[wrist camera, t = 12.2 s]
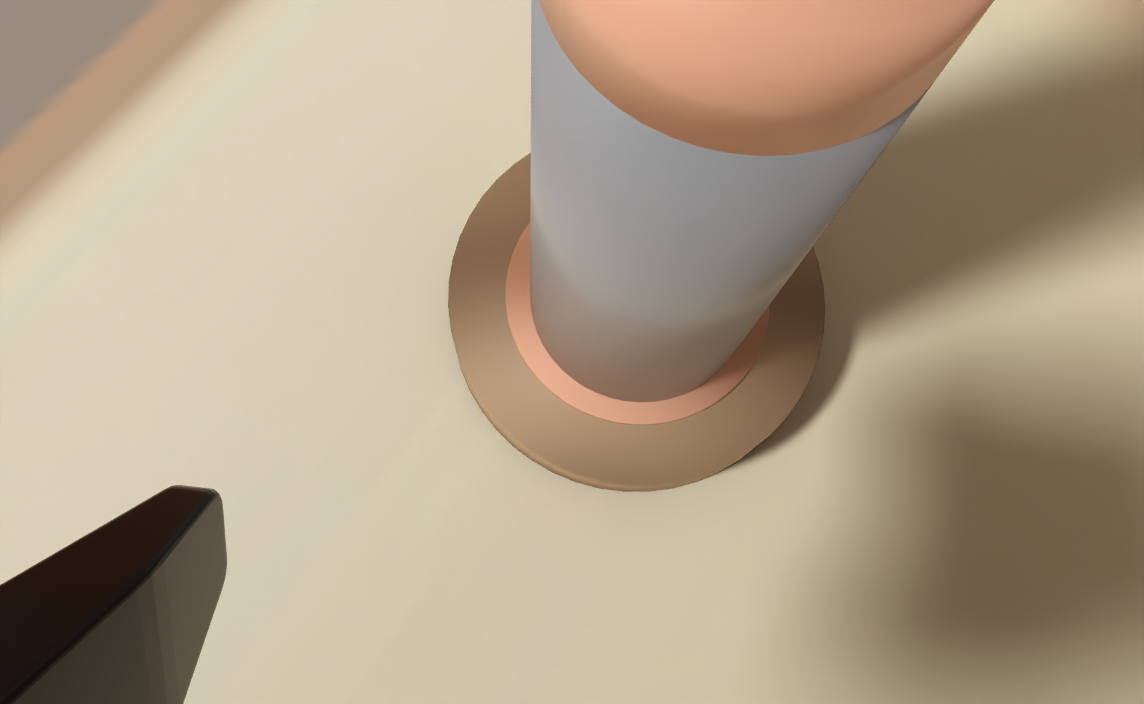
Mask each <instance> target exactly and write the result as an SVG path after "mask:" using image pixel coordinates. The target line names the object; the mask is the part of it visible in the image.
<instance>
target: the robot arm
mask: <svg viewBox="0 0 1144 704" xmlns="http://www.w3.org/2000/svg"><path fill="white" fill-rule="evenodd" d="M226 569H227V553H226V540H225V528H224V515H223V504H222V500H221V497H220V494H219V493H218V492H217V491H215V490H214V489H210V488H201V487H192V486H183V485H175V486H171V487H169V488H167V489H165V490H163V491H161V492H159V493H158V494H156V495H154V496H153V497H151V498H149V499H147V500H146V501H144V502H142V503H141V504H139V505H137V506H135V507H134V508H132V509H130V510H128V511H127V512H125V513H123V514H122V515H120V516H118V517H116V518H115V519H113V520H111V521H110V522H108V523H106V524H104V525H103V526H101V527H99V528H98V529H96V530H94V531H92V532H91V533H89V534H87V535H85V536H84V537H82V538H80V539H79V540H77V541H75V542H73V543H72V544H70V545H68V546H67V547H65V548H63V549H61V550H60V551H58V552H56V553H55V554H53V555H51V556H49V557H48V558H46V559H44V560H43V561H41V562H39V563H37V564H36V565H34V566H32V567H30V568H29V569H27V570H25V571H24V572H22V573H20V574H18V575H17V576H15V577H13V578H12V579H10V580H8V581H6V582H5V583H3V584H1V585H0V704H183V702H184V700H185V697H186V694H187V691H188V688H189V685H190V682H191V679H192V676H193V673H194V670H195V667H196V664H197V661H198V658H199V655H200V652H201V650H202V647H203V644H204V641H205V638H206V635H207V632H208V629H209V626H210V623H211V620H212V617H213V614H214V611H215V608H216V605H217V602H218V600H219V597H220V594H221V591H222V588H223V584H224V580H225V576H226Z"/></svg>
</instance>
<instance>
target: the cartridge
mask: <svg viewBox="0 0 1144 704" xmlns="http://www.w3.org/2000/svg"><path fill="white" fill-rule="evenodd" d="M993 1H994V0H532V21H531V193H530V305H531V312H532V317H533V322H534V325H535V328H536V331H537V334H538V336H539V338H540V340H541V342H542V344H543V346H544V348H545V349H546V351H547V352H548V354H549V355H550V357H551V358H552V359H553V360H554V362H555V363H556V364H557V365H558V366H559V367H560V368H561V369H562V370H563V371H564V372H565V373H566V374H567V375H569V376H570V377H571V378H572V379H573V380H575V381H576V382H578V383H579V384H581V385H582V386H584V387H586V388H588V389H590V390H592V391H594V392H596V393H598V394H601V395H604V396H606V397H609V398H613V399H618V400H622V401H629V402H656V401H662V400H667V399H671V398H674V397H678V396H681V395H684V394H686V393H688V392H690V391H692V390H694V389H696V388H698V387H699V386H701V385H702V384H704V383H705V382H707V381H708V380H709V379H711V378H712V377H713V376H714V375H715V374H716V373H718V372H719V371H720V369H721V368H722V367H723V366H724V365H725V364H726V363H727V361H728V360H729V359H730V357H731V356H732V355H733V353H734V352H735V351H736V349H737V348H738V347H739V345H740V344H741V342H742V341H743V340H744V338H745V337H746V336H747V334H748V333H749V332H750V330H751V329H752V328H753V326H754V325H755V324H756V322H757V321H758V319H759V318H760V317H761V315H762V314H763V313H764V311H765V310H766V309H767V307H768V306H769V305H770V303H771V302H772V300H773V299H774V298H775V296H776V295H777V294H778V292H779V291H780V290H781V288H782V287H783V286H784V284H785V283H786V282H787V280H788V279H789V277H790V276H791V275H792V273H793V272H794V271H795V269H796V268H797V267H798V265H799V264H800V263H801V261H802V260H803V259H804V257H805V256H806V254H807V253H808V252H809V250H810V249H811V248H812V246H813V245H814V244H815V242H816V241H817V240H818V238H819V237H820V236H821V234H822V233H823V231H824V230H825V229H826V227H827V226H828V225H829V223H830V222H831V221H832V219H833V218H834V217H835V215H836V214H837V212H838V211H839V210H840V208H841V207H842V206H843V204H844V203H845V202H846V200H847V199H848V198H849V196H850V195H851V194H852V192H853V191H854V189H855V188H856V187H857V185H858V184H859V183H860V181H861V180H862V179H863V177H864V176H865V175H866V173H867V172H868V171H869V169H870V168H871V166H872V165H873V164H874V162H875V161H876V160H877V158H878V157H879V156H880V154H881V153H882V152H883V150H884V149H885V148H886V146H887V145H888V143H889V142H890V141H891V139H892V138H893V137H894V135H895V134H896V133H897V131H898V130H899V129H900V127H901V126H902V124H903V123H904V122H905V120H906V119H907V118H908V116H909V115H910V114H911V112H912V111H913V110H914V108H915V107H916V106H917V104H918V103H919V101H920V100H921V99H922V97H923V96H924V95H925V93H926V92H927V91H928V89H929V88H930V87H931V85H932V84H933V83H934V81H935V80H936V78H937V77H938V76H939V74H940V73H941V72H942V70H943V69H944V68H945V66H946V65H947V64H948V62H949V61H950V60H951V58H952V57H953V55H954V54H955V53H956V51H957V50H958V49H959V47H960V46H961V45H962V43H963V42H964V41H965V39H966V38H967V36H968V35H969V34H970V32H971V31H972V30H973V28H974V27H975V26H976V24H977V23H978V22H979V20H980V19H981V18H982V16H983V15H984V13H985V12H986V11H987V9H988V8H989V7H990V5H991V4H992V3H993Z"/></svg>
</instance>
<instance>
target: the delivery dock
mask: <svg viewBox="0 0 1144 704" xmlns="http://www.w3.org/2000/svg"><path fill="white" fill-rule="evenodd" d="M530 193H531V153H530V154H528V155H527V156H525V157H524V158H523V159H521V160H520V161H518V162H517V163H515V164H514V165H513V166H512V167H511V168H509V169H508V170H507V171H506V172H505V173H504V174H503V175H502V176H500V177H499V178H498V179H497V180H496V181H495V183H494V184H493V185H492V186H491V187H490V188H489V189H488V191H487V192H486V193H485V194H484V195H483V196H482V198H481V199H480V201H479V202H478V204H477V206H476V207H475V209H474V210H473V212H472V213H471V215H470V216H469V218H468V221H467V223H466V225H465V227H464V229H463V231H462V233H461V235H460V238H459V241H458V244H457V247H456V250H455V254H454V257H453V261H452V267H451V273H450V279H449V298H448V308H449V317H450V326H451V332H452V336H453V340H454V344H455V348H456V352H457V356H458V359H459V363H460V367H461V370H462V372H463V375H464V377H465V380H466V382H467V385H468V387H469V390H470V391H471V393H472V395H473V397H474V398H475V400H476V402H477V403H478V405H479V407H480V409H481V410H482V412H483V413H484V414H485V415H486V417H487V418H488V419H489V421H490V422H491V423H492V425H493V426H494V427H495V429H496V430H497V431H498V432H499V433H500V434H501V435H502V436H503V437H504V438H505V439H506V440H507V441H509V442H510V443H511V444H512V445H513V446H514V447H515V448H516V449H518V450H519V451H520V452H522V453H523V454H524V455H526V456H527V457H528V458H530V459H531V460H532V461H534V462H536V463H537V464H539V465H541V466H543V467H544V468H546V469H548V470H550V471H551V472H553V473H555V474H558V475H560V476H563V477H565V478H568V479H570V480H572V481H575V482H578V483H582V484H585V485H589V486H593V487H597V488H601V489H609V490H617V491H656V490H663V489H671V488H675V487H679V486H683V485H686V484H690V483H694V482H697V481H699V480H702V479H704V478H706V477H709V476H711V475H713V474H716V473H718V472H720V471H722V470H723V469H725V468H727V467H728V466H730V465H732V464H733V463H735V462H737V461H738V460H740V459H741V458H742V457H743V456H745V455H746V454H747V453H748V452H750V451H751V450H752V449H753V448H755V447H756V446H757V445H758V444H760V443H761V442H762V441H763V440H765V439H766V438H767V437H768V436H770V435H771V433H772V432H773V431H774V430H775V429H776V428H777V427H778V426H779V425H780V424H781V423H782V422H783V421H784V420H785V419H786V418H787V416H788V415H789V413H790V412H791V411H792V409H793V408H794V406H795V405H796V403H797V402H798V401H799V399H800V398H801V396H802V394H803V392H804V390H805V388H806V386H807V384H808V382H809V380H810V378H811V376H812V373H813V370H814V367H815V365H816V362H817V359H818V356H819V352H820V347H821V342H822V337H823V332H824V315H825V303H824V291H823V283H822V278H821V273H820V269H819V264H818V261H817V258H816V255H815V252H814V249H813V247H812V248H811V249H810V250H809V252H808V253H807V254H806V256H805V257H804V259H803V260H802V261H801V263H800V264H799V265H798V267H797V268H796V269H795V271H794V272H793V273H792V275H791V276H790V277H789V279H788V280H787V282H786V283H785V284H784V286H783V287H782V288H781V290H780V291H779V292H778V294H777V295H776V296H775V298H774V299H773V300H772V302H771V303H770V305H769V306H768V307H767V309H766V310H765V311H764V313H763V314H762V315H761V317H760V318H759V319H758V321H757V322H756V324H755V325H754V326H753V328H752V329H751V330H750V332H749V333H748V334H747V336H746V337H745V338H744V340H743V341H742V342H741V344H740V345H739V347H738V348H737V349H736V351H735V352H734V353H733V355H732V356H731V357H730V359H729V360H728V361H727V363H726V364H725V365H724V366H723V367H722V368H721V369H720V371H719V372H718V373H716V374H715V375H714V376H713V377H712V378H711V379H709V380H708V381H707V382H705V383H704V384H702V385H701V386H699V387H698V388H696V389H694V390H692V391H690V392H688V393H686V394H684V395H681V396H678V397H674V398H671V399H667V400H662V401H656V402H629V401H622V400H618V399H613V398H609V397H606V396H604V395H601V394H598V393H596V392H594V391H592V390H590V389H588V388H586V387H584V386H582V385H581V384H579V383H578V382H576V381H575V380H573V379H572V378H571V377H570V376H569V375H567V374H566V373H565V372H564V371H563V370H562V369H561V368H560V367H559V366H558V365H557V364H556V363H555V362H554V360H553V359H552V358H551V357H550V355H549V354H548V352H547V351H546V349H545V348H544V346H543V344H542V342H541V340H540V338H539V336H538V334H537V331H536V328H535V325H534V322H533V317H532V312H531V305H530Z"/></svg>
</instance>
